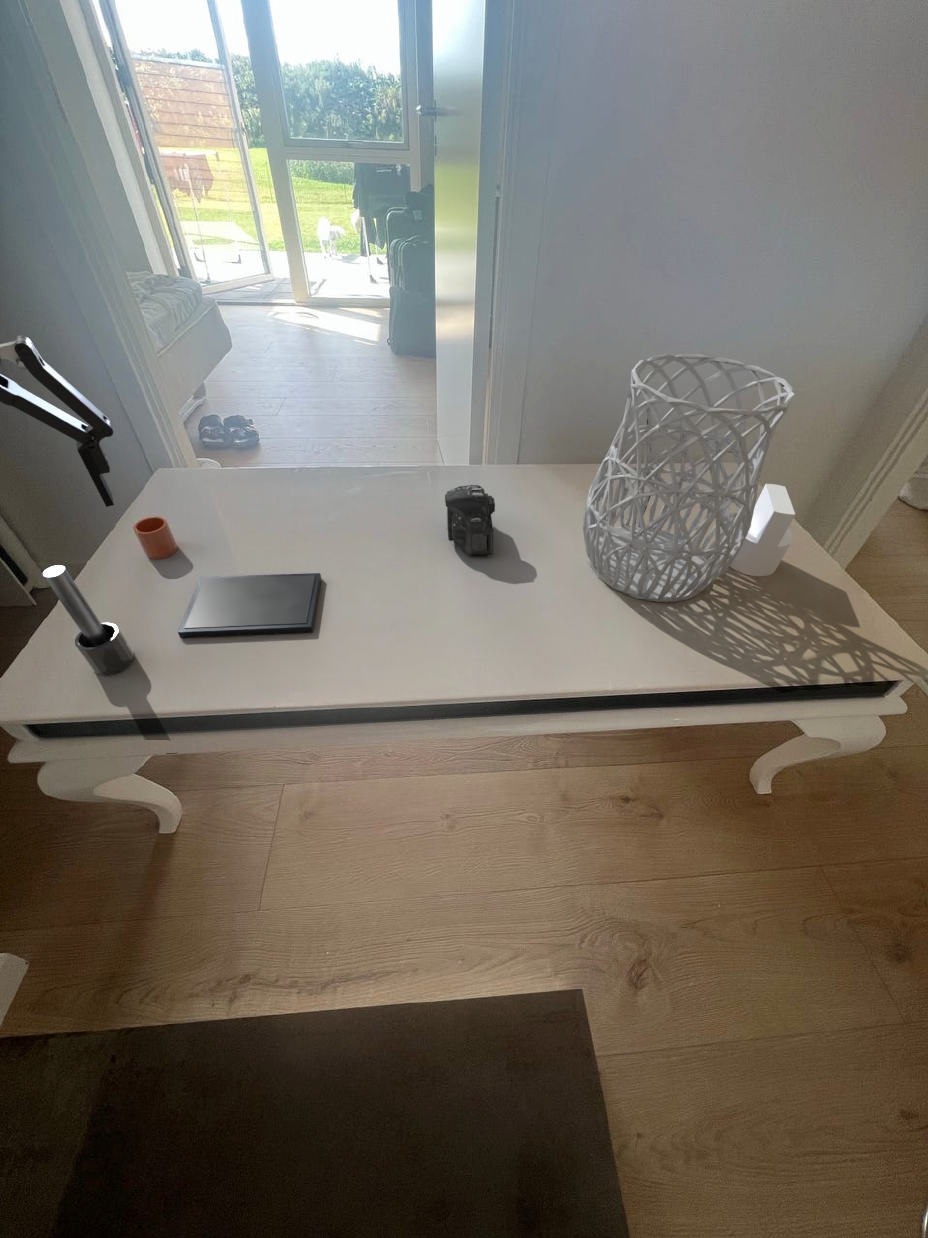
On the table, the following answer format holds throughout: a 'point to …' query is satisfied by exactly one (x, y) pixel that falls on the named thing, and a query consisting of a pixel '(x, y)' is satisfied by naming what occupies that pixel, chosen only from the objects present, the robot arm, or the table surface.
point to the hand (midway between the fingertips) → (37, 516)
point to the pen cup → (155, 537)
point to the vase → (677, 487)
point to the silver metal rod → (76, 605)
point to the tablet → (252, 605)
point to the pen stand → (106, 652)
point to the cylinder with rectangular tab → (766, 533)
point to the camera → (470, 519)
